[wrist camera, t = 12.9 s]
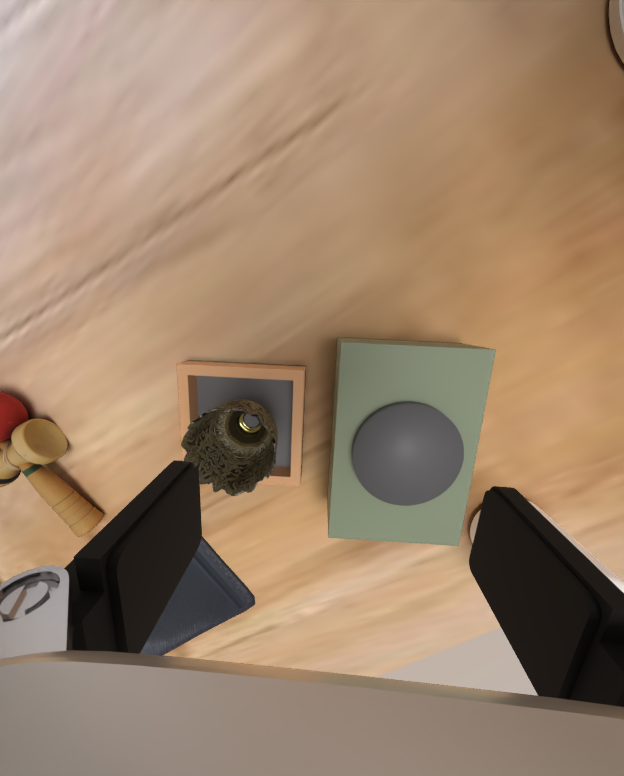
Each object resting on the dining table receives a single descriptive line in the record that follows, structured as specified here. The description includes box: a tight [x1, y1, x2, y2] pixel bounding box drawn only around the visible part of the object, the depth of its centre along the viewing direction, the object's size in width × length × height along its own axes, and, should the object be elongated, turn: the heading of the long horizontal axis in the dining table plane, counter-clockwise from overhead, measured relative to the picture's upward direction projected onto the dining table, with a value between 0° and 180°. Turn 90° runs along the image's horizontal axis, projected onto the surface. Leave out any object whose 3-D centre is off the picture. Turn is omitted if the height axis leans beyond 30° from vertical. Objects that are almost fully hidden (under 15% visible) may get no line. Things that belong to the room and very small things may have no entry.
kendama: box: [0, 392, 104, 537], centre depth 31 cm, size 8×6×18 cm
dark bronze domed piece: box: [181, 399, 278, 496], centre depth 27 cm, size 8×7×8 cm
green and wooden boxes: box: [176, 337, 496, 546], centre depth 28 cm, size 18×27×7 cm, turn 87°
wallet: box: [140, 537, 255, 656], centre depth 37 cm, size 20×2×15 cm
